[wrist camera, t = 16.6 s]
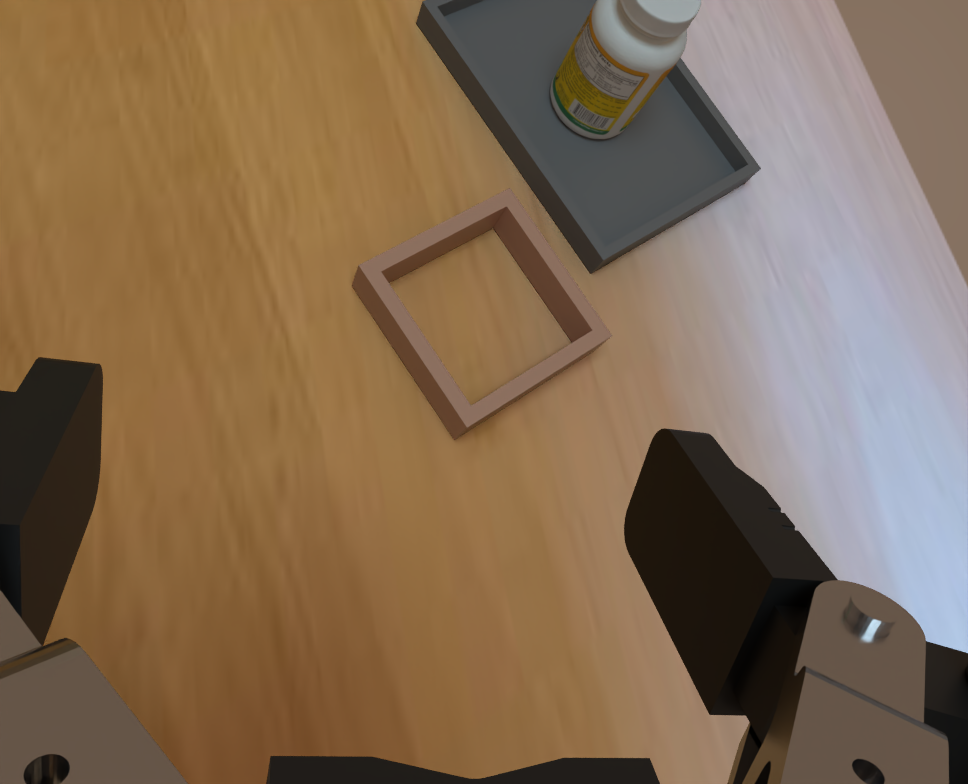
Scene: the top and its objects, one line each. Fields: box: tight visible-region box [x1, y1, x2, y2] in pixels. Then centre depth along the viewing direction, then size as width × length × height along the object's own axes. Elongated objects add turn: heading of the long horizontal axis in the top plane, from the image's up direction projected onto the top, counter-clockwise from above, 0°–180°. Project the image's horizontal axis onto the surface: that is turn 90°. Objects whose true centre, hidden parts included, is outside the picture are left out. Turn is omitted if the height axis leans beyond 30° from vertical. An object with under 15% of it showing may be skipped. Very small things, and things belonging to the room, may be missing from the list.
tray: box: [416, 0, 761, 273], centre depth 51 cm, size 18×13×2 cm
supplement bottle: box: [550, 0, 701, 139], centre depth 47 cm, size 5×5×10 cm
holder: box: [352, 188, 612, 440], centre depth 45 cm, size 10×10×2 cm
